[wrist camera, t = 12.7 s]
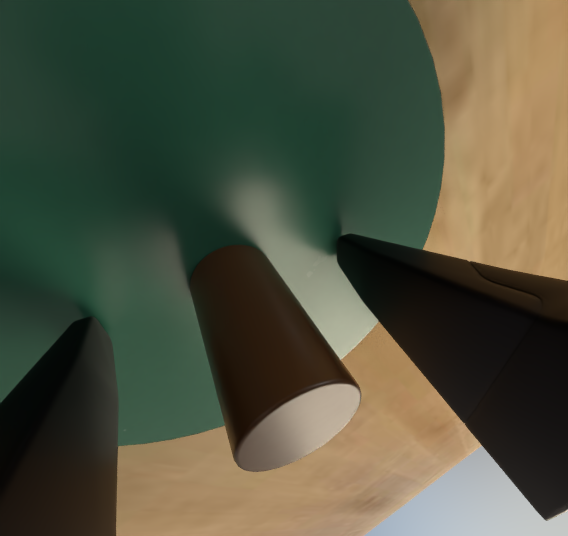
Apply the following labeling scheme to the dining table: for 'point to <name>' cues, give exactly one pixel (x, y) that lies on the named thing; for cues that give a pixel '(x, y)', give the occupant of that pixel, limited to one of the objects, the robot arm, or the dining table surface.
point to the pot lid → (210, 200)
